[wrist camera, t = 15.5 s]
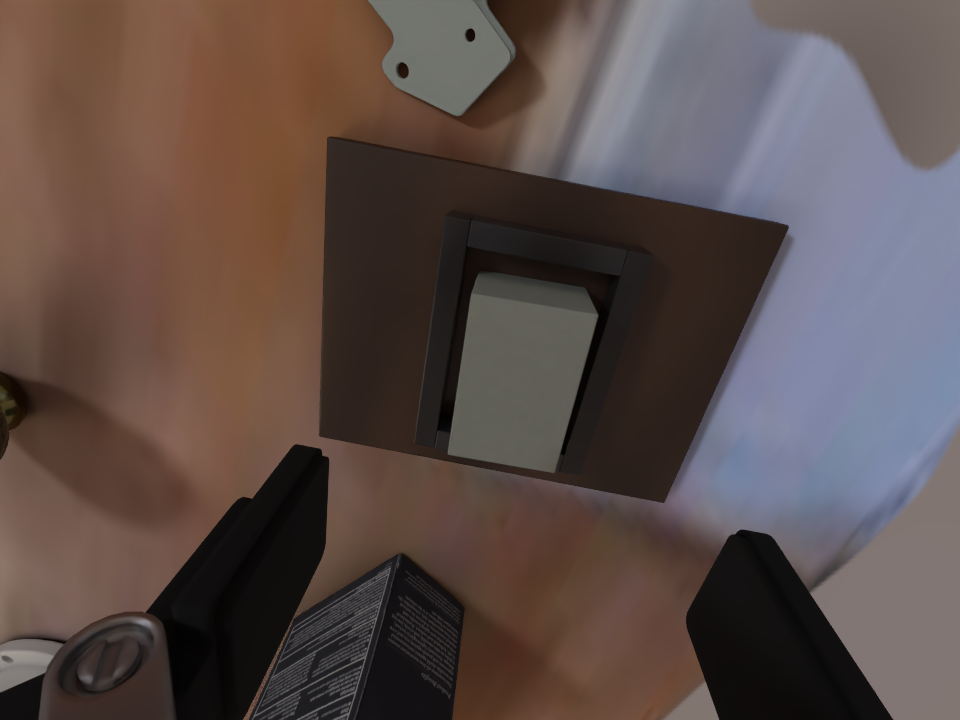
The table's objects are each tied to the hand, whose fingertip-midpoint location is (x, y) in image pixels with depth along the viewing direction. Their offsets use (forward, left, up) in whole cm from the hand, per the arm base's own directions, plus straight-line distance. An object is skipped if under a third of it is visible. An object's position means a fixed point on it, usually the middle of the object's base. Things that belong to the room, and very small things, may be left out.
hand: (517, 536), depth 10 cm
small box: (-5, -21, -12) cm, 25 cm away
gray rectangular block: (0, 0, -11) cm, 11 cm away
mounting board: (0, 0, -12) cm, 12 cm away
